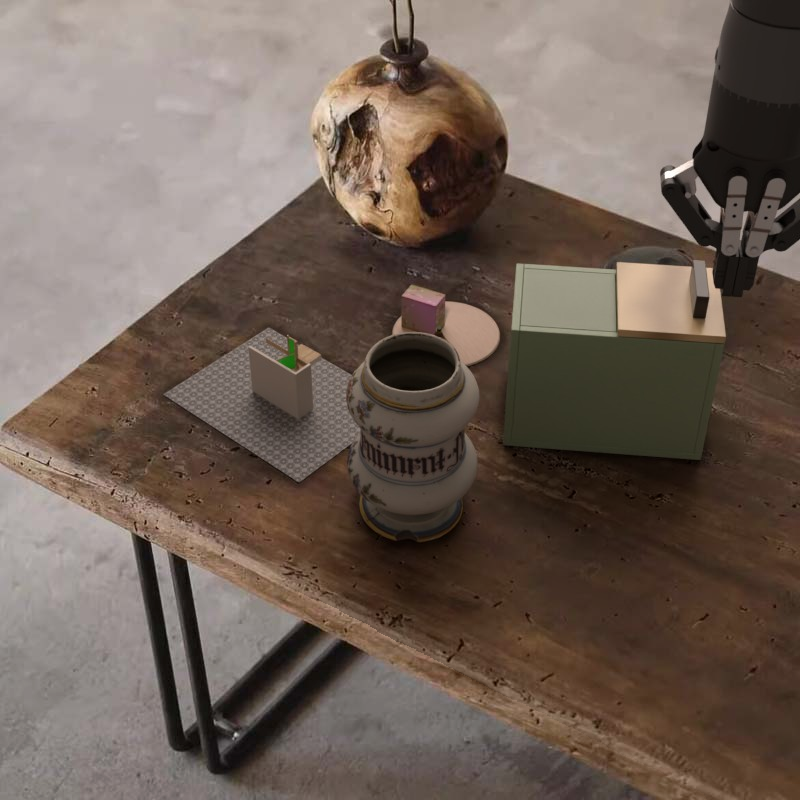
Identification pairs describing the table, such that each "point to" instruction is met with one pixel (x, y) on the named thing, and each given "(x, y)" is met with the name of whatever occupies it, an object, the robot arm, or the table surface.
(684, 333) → the door
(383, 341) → the apothecary jar
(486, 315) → the pink disc with block
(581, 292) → the green sliding lid box
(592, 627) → the table surface
